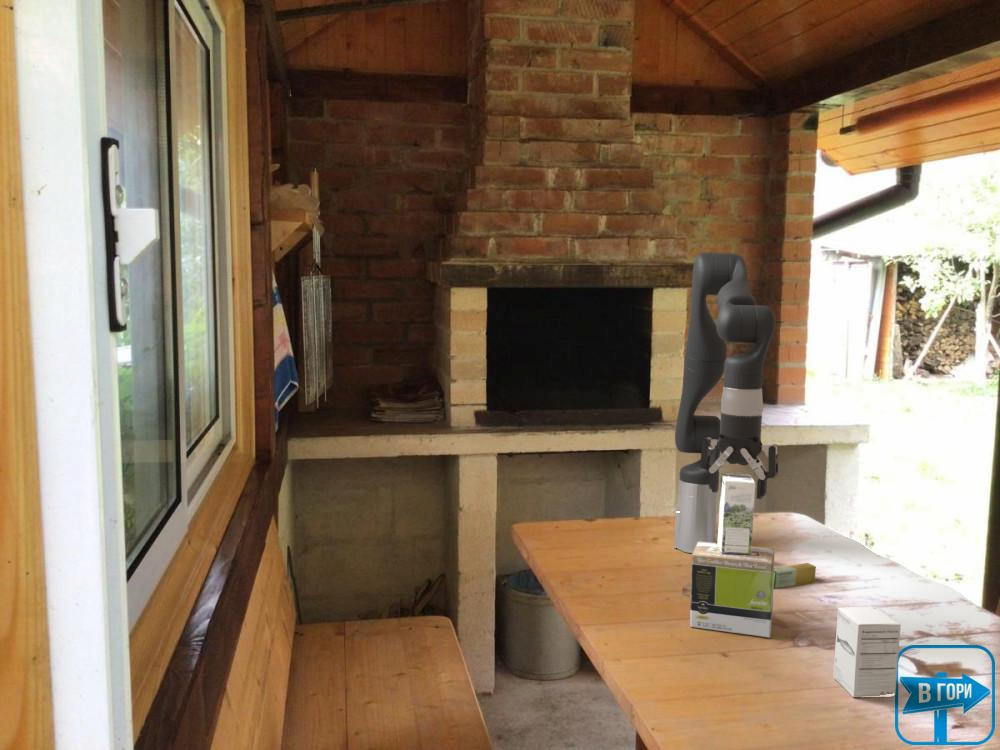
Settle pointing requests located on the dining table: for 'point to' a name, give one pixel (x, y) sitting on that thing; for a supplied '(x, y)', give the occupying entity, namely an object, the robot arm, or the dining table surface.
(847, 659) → the supplement box
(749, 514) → the syrup box
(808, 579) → the medication box
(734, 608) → the tea box
